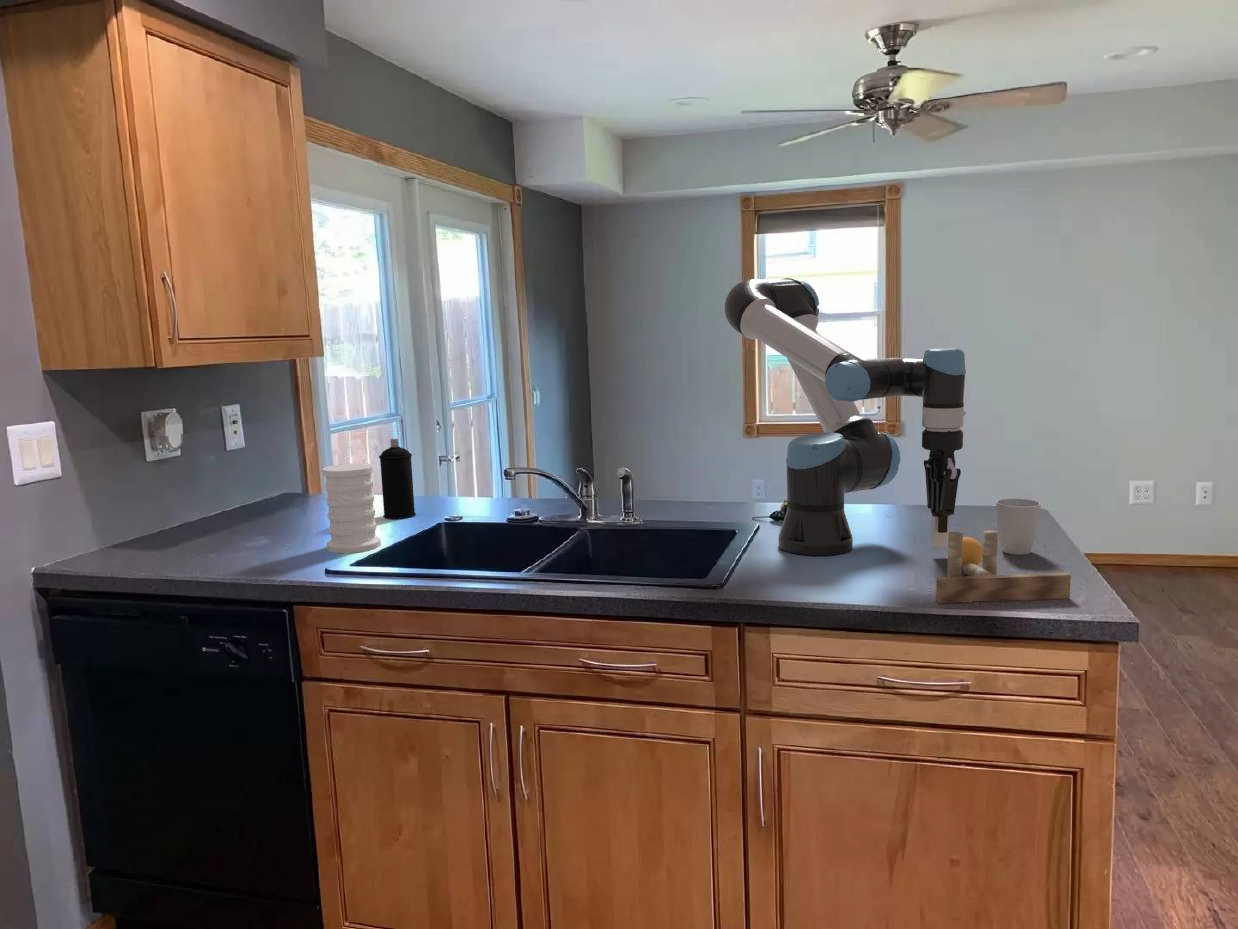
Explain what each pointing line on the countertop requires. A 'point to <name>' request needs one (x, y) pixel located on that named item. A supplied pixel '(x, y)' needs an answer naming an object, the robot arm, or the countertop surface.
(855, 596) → the countertop surface
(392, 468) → the aerosol can
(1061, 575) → the back wall
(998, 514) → the cup
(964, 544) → the ball
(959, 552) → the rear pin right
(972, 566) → the front pin
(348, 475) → the decorative container
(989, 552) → the rear pin left
